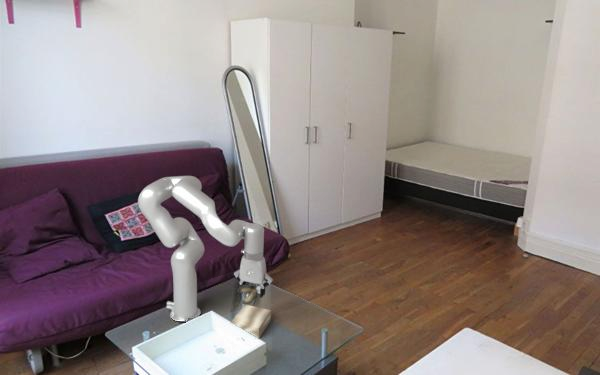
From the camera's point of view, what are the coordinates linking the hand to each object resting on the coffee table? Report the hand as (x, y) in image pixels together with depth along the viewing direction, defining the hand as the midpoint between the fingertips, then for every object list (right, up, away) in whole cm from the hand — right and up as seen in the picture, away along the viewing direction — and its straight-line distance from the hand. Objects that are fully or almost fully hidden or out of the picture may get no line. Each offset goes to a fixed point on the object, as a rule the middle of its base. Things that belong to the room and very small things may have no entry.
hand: (252, 293), depth 190 cm
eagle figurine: (-1, -2, -1) cm, 2 cm away
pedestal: (-1, -15, +4) cm, 15 cm away
